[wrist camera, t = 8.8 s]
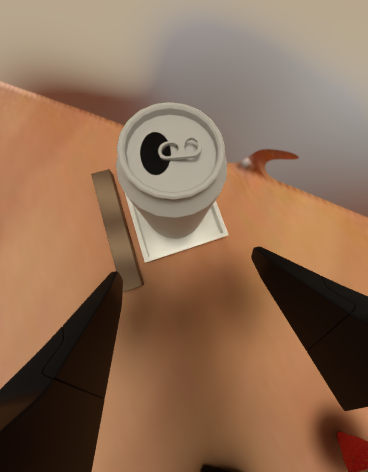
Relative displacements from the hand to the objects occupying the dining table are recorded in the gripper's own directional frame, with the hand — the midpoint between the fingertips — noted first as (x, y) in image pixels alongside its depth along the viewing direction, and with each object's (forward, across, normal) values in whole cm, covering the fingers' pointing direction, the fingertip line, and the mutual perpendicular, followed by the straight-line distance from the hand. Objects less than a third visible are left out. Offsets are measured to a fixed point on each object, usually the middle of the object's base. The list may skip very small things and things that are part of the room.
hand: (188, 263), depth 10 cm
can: (+12, 0, +2) cm, 12 cm away
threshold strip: (+11, +8, +3) cm, 14 cm away
